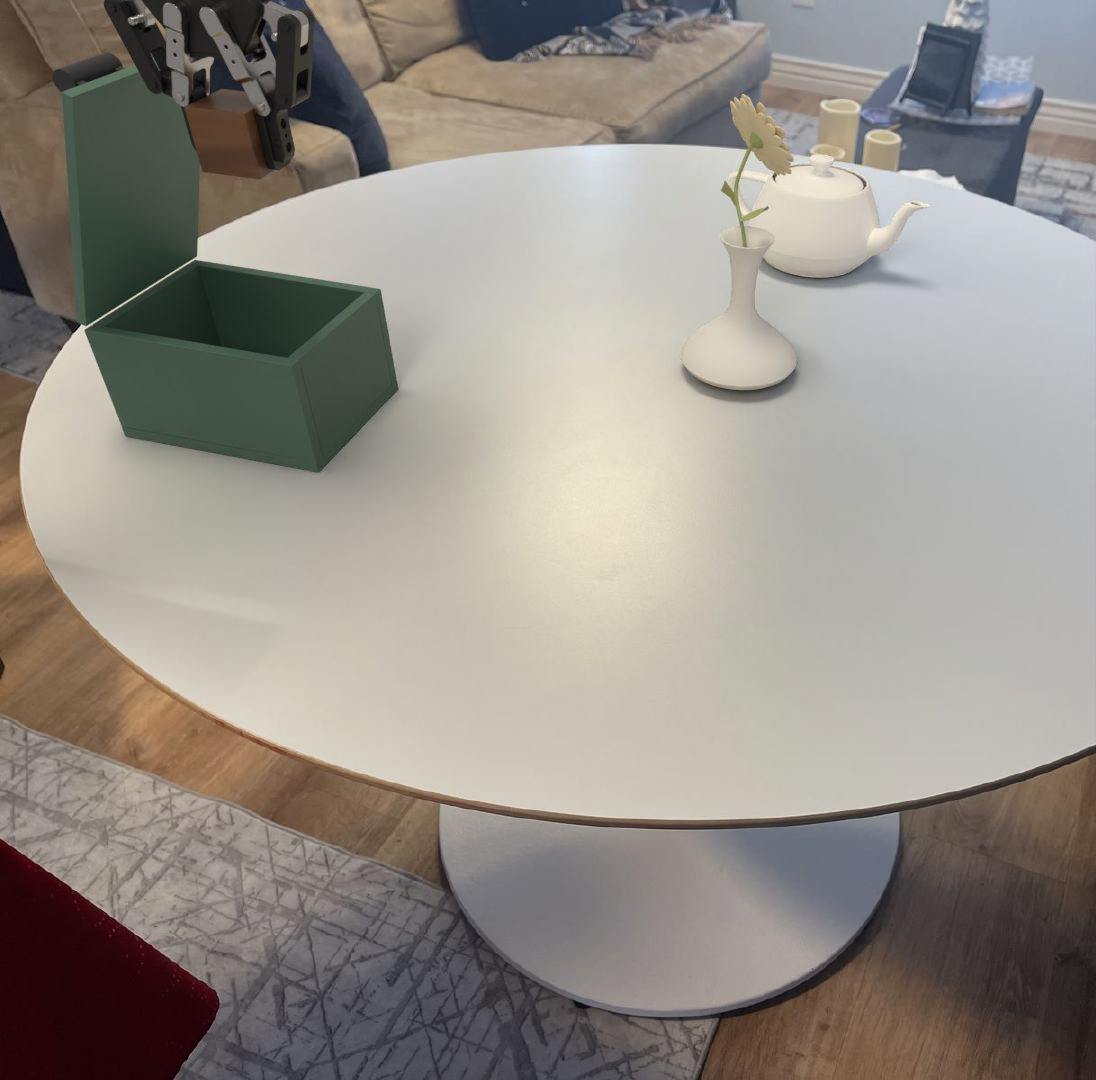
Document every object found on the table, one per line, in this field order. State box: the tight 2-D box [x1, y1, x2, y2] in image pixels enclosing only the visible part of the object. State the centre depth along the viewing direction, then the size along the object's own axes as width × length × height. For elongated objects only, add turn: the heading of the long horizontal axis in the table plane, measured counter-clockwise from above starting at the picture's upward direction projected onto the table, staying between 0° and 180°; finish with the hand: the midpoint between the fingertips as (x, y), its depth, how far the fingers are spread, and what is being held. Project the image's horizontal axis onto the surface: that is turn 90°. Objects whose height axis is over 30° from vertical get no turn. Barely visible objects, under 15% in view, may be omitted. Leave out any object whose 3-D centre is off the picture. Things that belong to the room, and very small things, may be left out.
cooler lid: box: [51, 51, 201, 327], centre depth 77 cm, size 19×14×5 cm
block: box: [184, 88, 294, 180], centre depth 70 cm, size 4×4×4 cm
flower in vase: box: [679, 93, 798, 391], centre depth 91 cm, size 13×11×25 cm
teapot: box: [726, 153, 931, 279], centre depth 116 cm, size 25×16×12 cm, turn 61°
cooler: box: [83, 259, 399, 473], centre depth 86 cm, size 18×14×10 cm
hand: (246, 161), depth 71 cm, fingers closed on block, 4 cm apart
